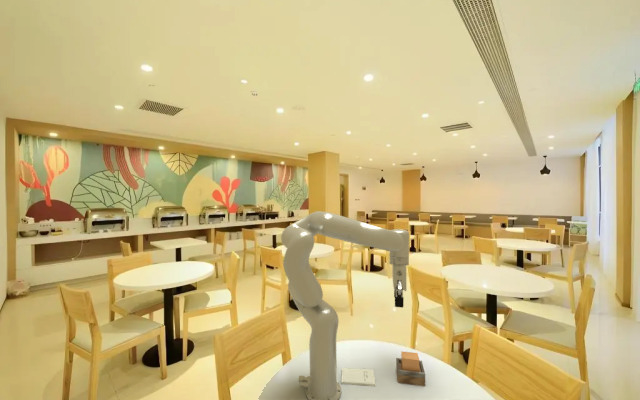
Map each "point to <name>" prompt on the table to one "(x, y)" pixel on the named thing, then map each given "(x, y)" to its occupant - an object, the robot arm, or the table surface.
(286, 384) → the table surface
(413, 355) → the tan block
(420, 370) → the brown wooden box
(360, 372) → the external hard drive
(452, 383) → the table surface
